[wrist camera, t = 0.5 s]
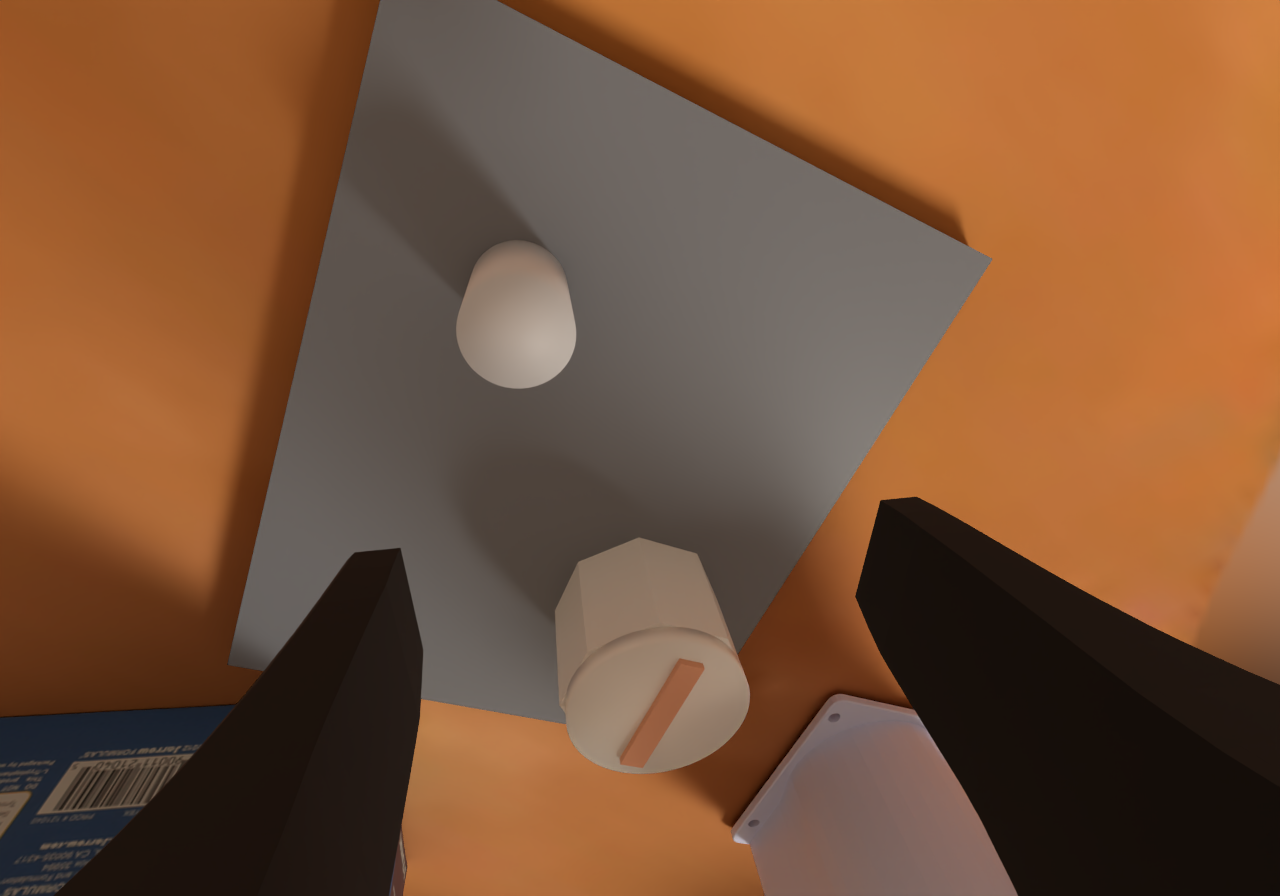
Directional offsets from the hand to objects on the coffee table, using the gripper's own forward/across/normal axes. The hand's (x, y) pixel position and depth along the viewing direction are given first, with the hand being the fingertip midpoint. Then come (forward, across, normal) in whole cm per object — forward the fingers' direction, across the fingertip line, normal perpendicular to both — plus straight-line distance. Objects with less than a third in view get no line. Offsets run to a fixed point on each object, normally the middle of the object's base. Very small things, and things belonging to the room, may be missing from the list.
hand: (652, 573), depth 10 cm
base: (+10, 0, +4) cm, 10 cm away
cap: (+8, -1, +9) cm, 12 cm away
